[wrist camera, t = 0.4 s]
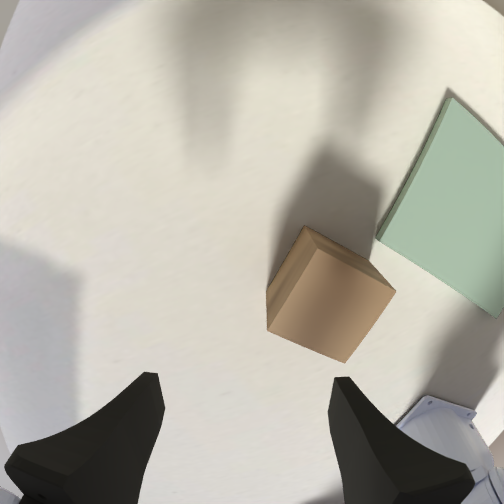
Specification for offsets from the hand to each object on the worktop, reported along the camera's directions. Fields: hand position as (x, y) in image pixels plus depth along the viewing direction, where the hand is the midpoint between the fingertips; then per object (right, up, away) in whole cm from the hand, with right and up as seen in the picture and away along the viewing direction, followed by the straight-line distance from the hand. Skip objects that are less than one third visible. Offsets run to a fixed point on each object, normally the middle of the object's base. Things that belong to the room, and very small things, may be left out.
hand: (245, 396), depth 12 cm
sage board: (+17, +8, +7) cm, 20 cm away
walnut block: (+5, +4, +9) cm, 11 cm away
